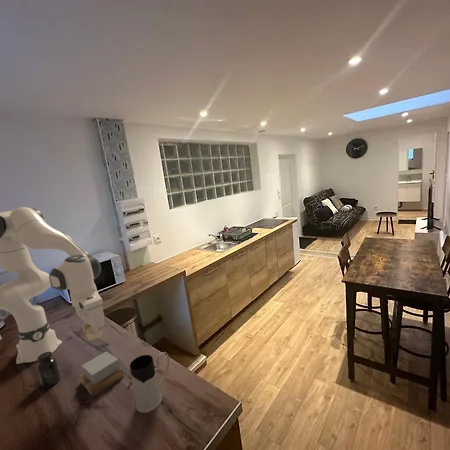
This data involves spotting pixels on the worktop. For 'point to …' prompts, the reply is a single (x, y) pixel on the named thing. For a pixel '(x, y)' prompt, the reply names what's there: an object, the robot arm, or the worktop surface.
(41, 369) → the supplement bottle
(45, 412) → the worktop surface
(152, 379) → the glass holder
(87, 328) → the birch block
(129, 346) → the worktop surface
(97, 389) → the walnut base slab
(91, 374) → the slate top slab
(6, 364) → the worktop surface
